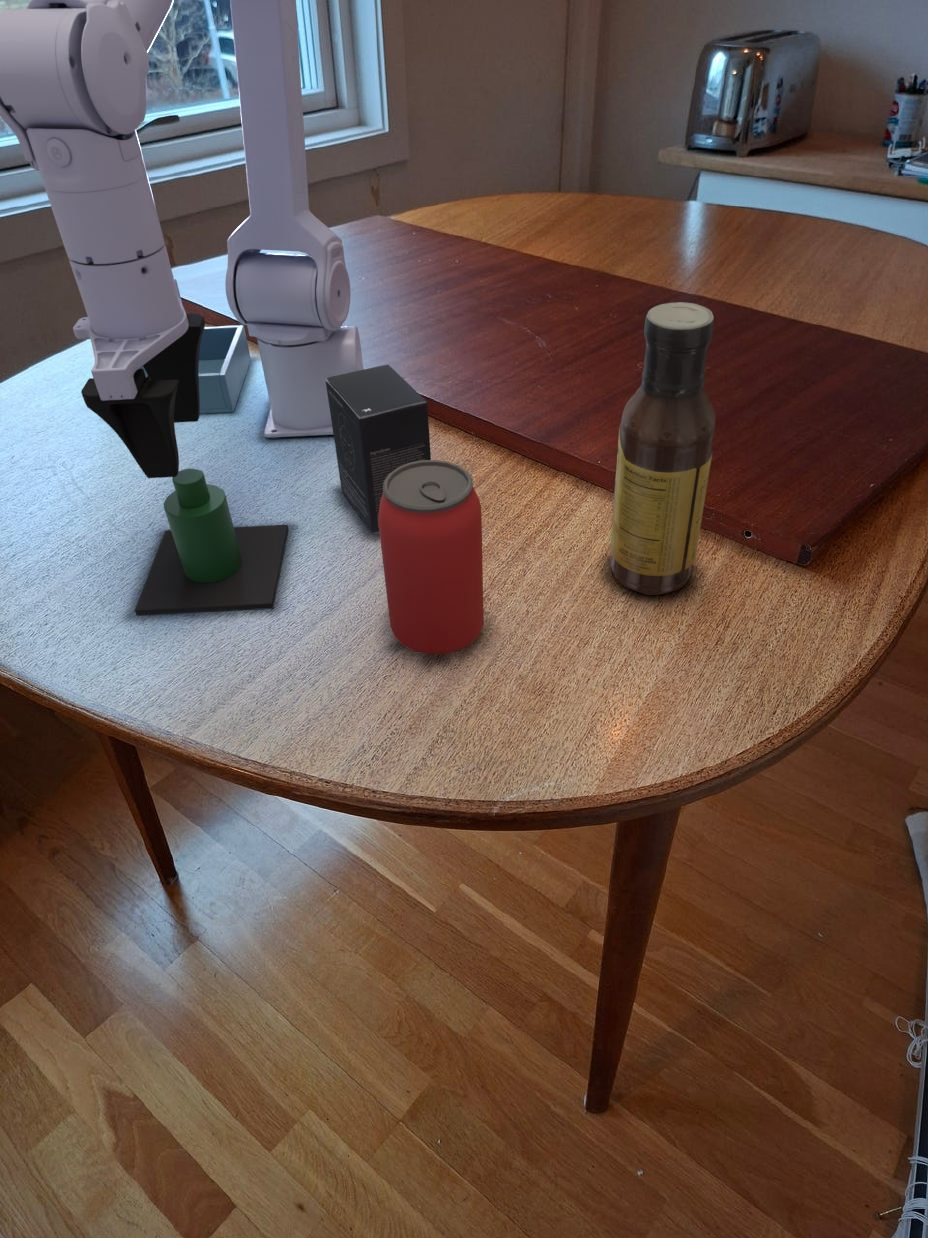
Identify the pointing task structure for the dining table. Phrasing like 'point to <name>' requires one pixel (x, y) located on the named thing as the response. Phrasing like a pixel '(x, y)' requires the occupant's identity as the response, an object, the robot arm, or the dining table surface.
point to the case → (221, 367)
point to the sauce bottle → (664, 454)
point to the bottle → (202, 528)
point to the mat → (236, 592)
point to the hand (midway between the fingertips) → (174, 446)
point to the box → (375, 433)
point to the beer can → (432, 556)
